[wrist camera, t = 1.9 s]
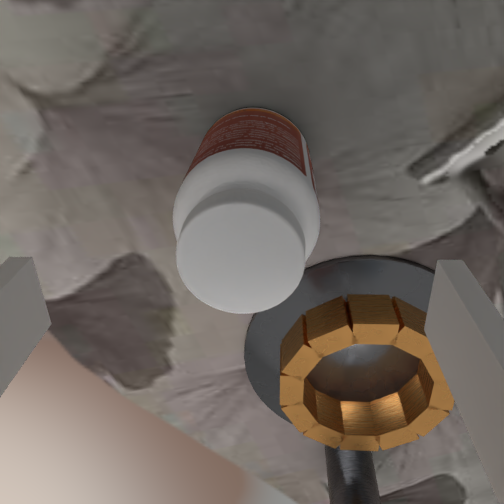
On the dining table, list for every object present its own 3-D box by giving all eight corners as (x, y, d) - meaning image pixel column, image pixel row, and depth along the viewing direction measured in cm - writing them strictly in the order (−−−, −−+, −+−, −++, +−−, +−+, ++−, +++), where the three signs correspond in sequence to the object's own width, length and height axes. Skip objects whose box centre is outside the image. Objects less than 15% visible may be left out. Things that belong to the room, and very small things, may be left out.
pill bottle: (178, 145, 26) (116, 238, 16) (270, 81, 24) (262, 143, 14) (241, 229, 28) (220, 353, 19) (330, 176, 26) (358, 285, 17)
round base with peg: (241, 254, 29) (211, 444, 17) (504, 256, 28) (673, 461, 16) (249, 459, 39) (233, 674, 27) (445, 466, 38) (521, 693, 26)
